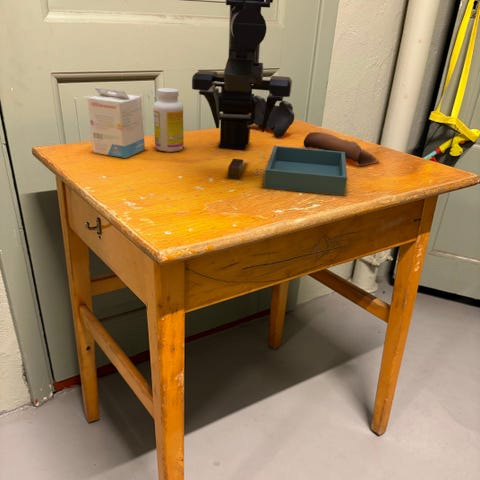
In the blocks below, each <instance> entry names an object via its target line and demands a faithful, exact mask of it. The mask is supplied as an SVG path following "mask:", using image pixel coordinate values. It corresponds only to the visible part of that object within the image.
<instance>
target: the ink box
mask: <svg viewBox="0 0 480 480" xmlns="http://www.w3.org/2000/svg"><path fill="white" fill-rule="evenodd" d="M94 89H95V91H96V92H97V94H98V95H93V96H90V97H87V106H88V107H87V108H88V115H89V116H88V117H89V124H90V130H91V132H90V133H91V140H92V149H93V153H94V154H99V155H104V156H111V157H116V158H122V159H127V158H130V157H132V156H134V155H136V154H138V153H141V152H143V151H145V150H146V147H145V146H146V145H145V134H144V132H145V131H144V117H143V104H142V103H143V101H142V96H140V95H133V94H127V92H125V91H124V90H121V89H120V90H118V89H111V88H104V87H94Z"/></svg>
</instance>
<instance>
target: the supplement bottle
mask: <svg viewBox="0 0 480 480" xmlns="http://www.w3.org/2000/svg"><path fill="white" fill-rule="evenodd" d="M179 94H180V93H179V89H177V88H173V87H172V88H171V87H161V88H160V87H159V88H158V89H156V95H157V99H158V100H156V101H155V102H154V103H153V107H152V109H153V129H154V130H153V131H154V146H155V148H156V150H158V151H161V152H165V153H167V152H168V153H175V152H179V151H182V150H183V149H184V139H185V137H184V106H183V104H182V102H180V101H179V100H178V98H179Z"/></svg>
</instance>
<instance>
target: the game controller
mask: <svg viewBox="0 0 480 480" xmlns="http://www.w3.org/2000/svg"><path fill="white" fill-rule="evenodd" d="M254 97H255V99H256V100H257V105H256V112H255V120H253V122H250V121H248V125H250V126H252V125H255V126H257V128H259V129H261V130H262V123H263V118H264V113H265V107H266V101H267V99H266V98H264V97H263V96H261V95H254ZM293 110H294V107H293V104H292V103H290V102H288V101H287V100H282V101H279V104H278V105H276V104H275V106H274V108H273V110H272V112H271V114H270V117H269V120H268V122H267V125H266V128H265V129H267V128H268V129H269V130H270V131H272V133H273V136H274V137H275V138H277V139H281V138H282V137H283V136H285V134H286V133H287V132H288V130H289V128H290V127H291V126H292V125H293V123H294V121H295V112H294V111H293ZM248 115H249V113H248Z"/></svg>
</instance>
